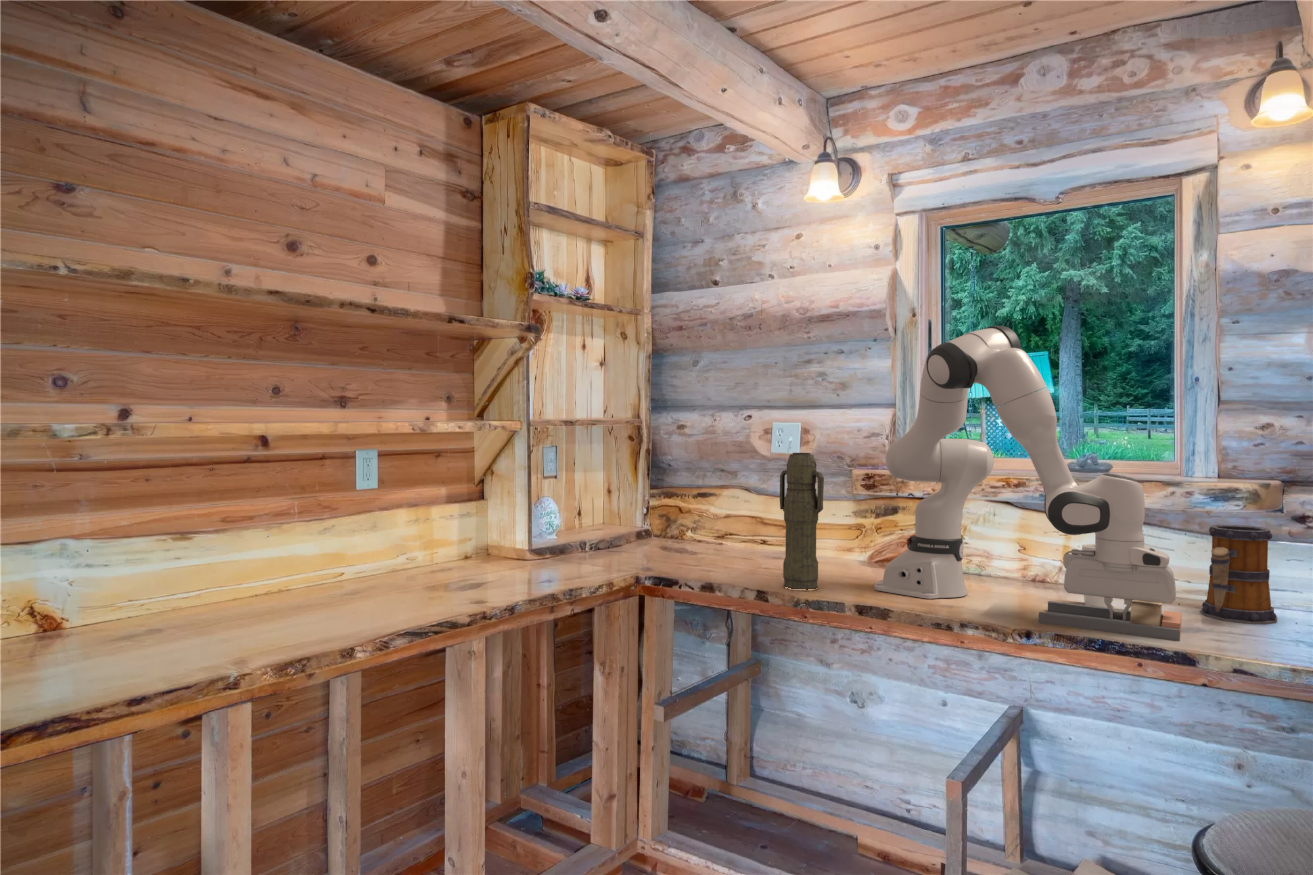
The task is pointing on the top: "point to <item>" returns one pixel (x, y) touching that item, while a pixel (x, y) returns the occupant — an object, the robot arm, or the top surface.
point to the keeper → (1146, 613)
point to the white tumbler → (1088, 598)
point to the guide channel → (1109, 621)
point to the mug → (1239, 575)
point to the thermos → (801, 520)
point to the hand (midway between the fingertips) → (1118, 619)
